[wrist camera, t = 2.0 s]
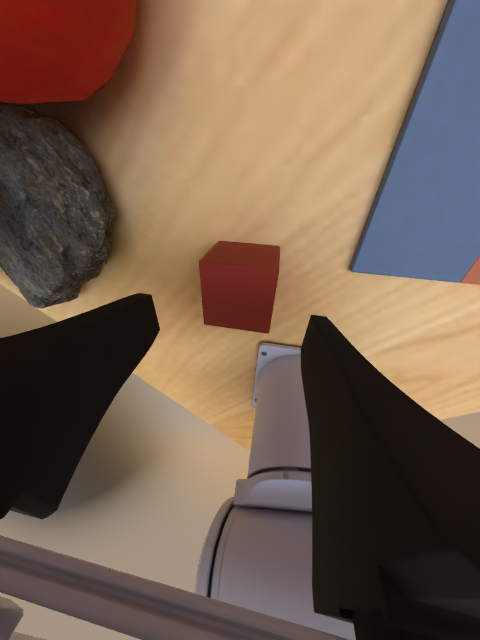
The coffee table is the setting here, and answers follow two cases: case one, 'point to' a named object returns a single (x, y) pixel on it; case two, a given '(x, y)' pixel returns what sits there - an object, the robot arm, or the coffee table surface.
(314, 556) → the robot arm
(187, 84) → the coffee table surface
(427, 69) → the sorting mat
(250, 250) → the red block
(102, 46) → the apple
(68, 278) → the rock
